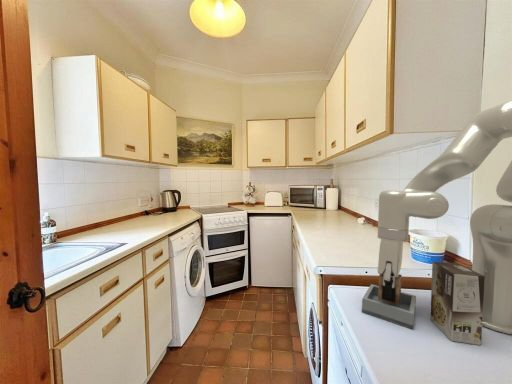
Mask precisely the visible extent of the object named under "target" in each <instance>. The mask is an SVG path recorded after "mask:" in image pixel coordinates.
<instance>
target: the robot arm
mask: <svg viewBox="0 0 512 384" xmlns="http://www.w3.org/2000/svg"><path fill="white" fill-rule="evenodd" d="M508 138H509V139H510V138H512V100H510V101H509V100H508V101H505V102H504V103H500V104H498V105H495V106H493V107H490V108H487V109H484V110H482V111H480V112H478V113H477V114H474V115H473V116H472V117H471V118H470V119H469V120H468V122H466V124H465V125H464V126H463V127H462V129H461V130H460V131H459V132H458V134H457V135H456V136H455V137H454V139H453V140H452V141H451V143H449V145H448V146H447V147H446V149H444V151H443V152H441V154H440V155H439V156H437V157H436V158H435V159H434V160H433V161H432V162H430V163H429V164H428V165H426V166H425V167H424V168H423V169H422V170H421V171H419V172H417V174H416V175H415V176H414V177H413V178H412V179H411V180H410V181H409V182H408V184H407V185H406V186H405V187H404V189H403V190H383V191H381V192H380V193H379V195H378V196H379V197H378V213H377V214H378V215H377V216H378V217H377V221H378V222H377V239H379V240H380V243H379V248H378V249H379V251H378V260H377V261H378V264H377V273H378V275H380V274H382V273H383V271H384V276H383V285H382V299H384V300H387V301H391V302H395V296H396V288H395V278H397V277H398V275H399V274H400V272H401V269H402V262H403V250H404V243H408V242H409V233H410V232H409V228H410V227H409V226H410V217H413V218H420V219H426V220H435V219H438V218H441V217H443V216H444V215H445V214H447V212H448V211H449V208H450V206H449V205H450V203H449V201H448V199H447V198H446V197H445V196H444V195H443V194H441V193H439V192H437V191H438V190H439V189H441V188H442V187H443V186H445V185H446V184H449V183H450V182H453V181H455V180H457V179H461V178H464V177H465V176H468V175H470V174H471V173H474V172H475V171H476V170H477V169H478V168H479V167H480V166H482V164H483V163H484V161H485V160H486V159H487V157H488V156H489V155H490V154H491V153H492V152H493V151H494V150H495V148H496V147H497V146H498V145H499V143H500V142H501V141H503V140H504V139H508ZM495 190H496V191H495V192H496V195H497V196H498V197H499V198H500V199H501V200H503V201H504V202H508V203H511V204H512V160H511V161H510V163H509V164H508V165H507V167H506V169H505V171H504V173H503V174H502V176H501V177H500V179H499V181H498V182H497V184H496V188H495ZM469 227H470V232H471V237H472V264H471V265H472V266H471V270H473V271H475V272H477V273H479V274H481V275H483V276H485V282H484V300H483V316H482V327H485V328H488V329H490V330H493V331H496V332H500V333H504V334H508V335H512V205H508V204H497V203H496V204H486V205H482V206H480V207H477V208H476V209H474V211H473V212H472V213H471V215H470V219H469ZM391 274H394V276H391ZM391 278H393V281H392V280H391Z"/></svg>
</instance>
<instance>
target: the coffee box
mask: <svg viewBox="0 0 512 384" xmlns="http://www.w3.org/2000/svg"><path fill="white" fill-rule="evenodd" d="M431 263H432V267H431V271H432V272H431V290H430V291H431V293H430V294H431V295H430V297H431V298H430V318H429V319H430V321H432V323H433V324H434V325H435V326H436V327H437V328H438V329H440V330H439V331H440V332H442V333H443V334H444V335H445V336H446V337H447V338H448V339H449V340H450V341H451V342H458V343H464V344H471V345H477V346H481V345H482V335H483V333H482V331H483V326H482V316H483V300H484V282H485V276H483V275H481V274H479V273H477V272H475V271H473V270H472V268H469V267H467V266H465V265H462V264H460V263H455V262H439V261H438V262H437V261H432V262H431Z"/></svg>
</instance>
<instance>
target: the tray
mask: <svg viewBox="0 0 512 384" xmlns="http://www.w3.org/2000/svg"><path fill="white" fill-rule="evenodd" d="M378 291H379V285H377V284H372V283H371V284H370V286H369V287H368V288H367V290H366V292H365V293H364V295H363V296H362V301H361V313H362V314H366V315H370V316H372V317H375V318H378V319H380V320H383V321H386V322H390V323H392V324H394V325H395V324H396V325H398V326H401V327H404V328H406V329H409V330H412V331H414V325H415V317H416V311H415V310H416V309H417V295H414V294H410V293H406V292H403V291H401V299H400V303H399V306H398V305H395V304H391V303H388V302H385V301H381V300H378Z"/></svg>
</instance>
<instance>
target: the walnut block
mask: <svg viewBox="0 0 512 384" xmlns="http://www.w3.org/2000/svg"><path fill="white" fill-rule="evenodd" d="M383 276H384V271H383V273H382V274H378V286H379V291H378V300H381V301H385V302H388V303H391V304H395V305H398V306H399V303H400V299H401V292H402V278H403V277H402V274H400V273H399V275H398V277H397V278H395V288H396V296H395V302H391V301H387V300H384V299H382V285H383ZM391 276H394V274H391ZM391 280H392V281H393V278H391Z"/></svg>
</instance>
